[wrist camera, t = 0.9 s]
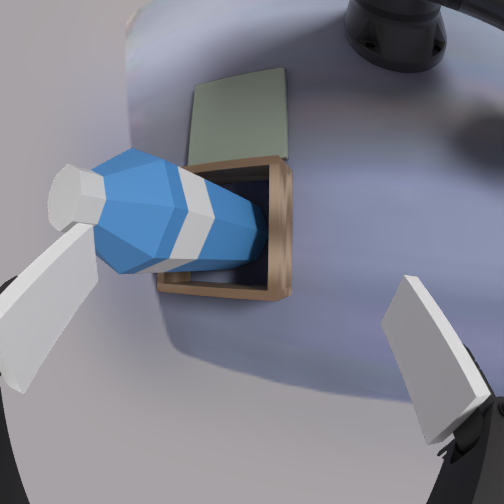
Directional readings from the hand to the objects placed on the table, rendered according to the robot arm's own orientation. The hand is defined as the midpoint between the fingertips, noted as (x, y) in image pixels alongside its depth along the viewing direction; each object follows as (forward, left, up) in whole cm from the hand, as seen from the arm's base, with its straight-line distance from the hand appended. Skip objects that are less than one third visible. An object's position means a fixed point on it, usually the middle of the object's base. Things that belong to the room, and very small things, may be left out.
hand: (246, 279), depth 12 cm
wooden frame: (-4, -11, -24) cm, 27 cm away
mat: (-20, -11, -24) cm, 33 cm away
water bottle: (-4, -11, -24) cm, 27 cm away
